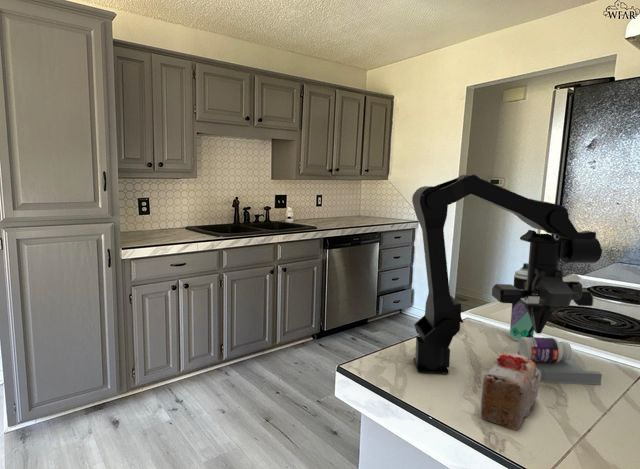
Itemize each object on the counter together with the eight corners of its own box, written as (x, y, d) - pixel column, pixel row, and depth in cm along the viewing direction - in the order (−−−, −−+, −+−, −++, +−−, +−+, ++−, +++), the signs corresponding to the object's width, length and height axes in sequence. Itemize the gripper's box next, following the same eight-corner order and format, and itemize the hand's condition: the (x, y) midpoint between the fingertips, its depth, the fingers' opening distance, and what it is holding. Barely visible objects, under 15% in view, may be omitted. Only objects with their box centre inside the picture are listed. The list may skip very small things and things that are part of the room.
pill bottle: (529, 351, 86) (576, 352, 86) (521, 331, 91) (566, 333, 90) (523, 366, 90) (568, 368, 89) (515, 347, 94) (558, 348, 93)
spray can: (504, 335, 106) (510, 262, 103) (521, 333, 108) (527, 261, 105) (520, 343, 101) (527, 266, 98) (537, 341, 102) (544, 265, 100)
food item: (495, 386, 79) (498, 339, 78) (540, 399, 75) (544, 350, 74) (476, 418, 69) (480, 364, 67) (527, 436, 64) (532, 378, 63)
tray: (544, 382, 81) (545, 371, 81) (517, 354, 94) (518, 345, 94) (600, 384, 80) (601, 374, 80) (566, 356, 93) (567, 347, 93)
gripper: (513, 269, 77) (507, 346, 79) (614, 272, 76) (605, 350, 78) (493, 258, 88) (488, 326, 90) (581, 261, 87) (574, 329, 89)
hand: (537, 332), depth 87 cm, fingers closed
